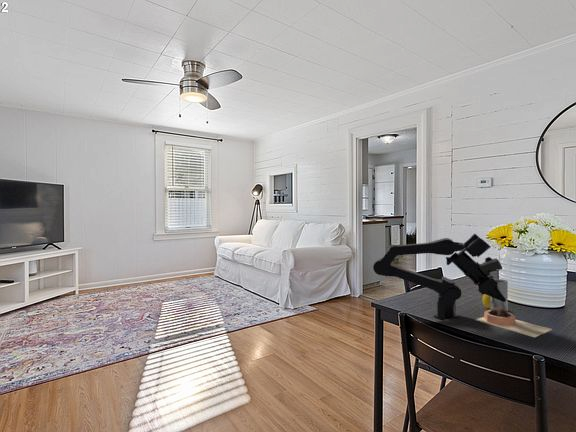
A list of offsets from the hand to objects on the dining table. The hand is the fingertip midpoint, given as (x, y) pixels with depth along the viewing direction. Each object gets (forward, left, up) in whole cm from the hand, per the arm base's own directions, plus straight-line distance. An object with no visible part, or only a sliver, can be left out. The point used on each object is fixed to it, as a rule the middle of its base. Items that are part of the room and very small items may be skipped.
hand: (503, 299), depth 113 cm
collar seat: (-1, +1, -9) cm, 9 cm away
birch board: (-1, -3, -9) cm, 9 cm away
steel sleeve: (-1, +1, -7) cm, 7 cm away
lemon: (+11, +11, -9) cm, 18 cm away
